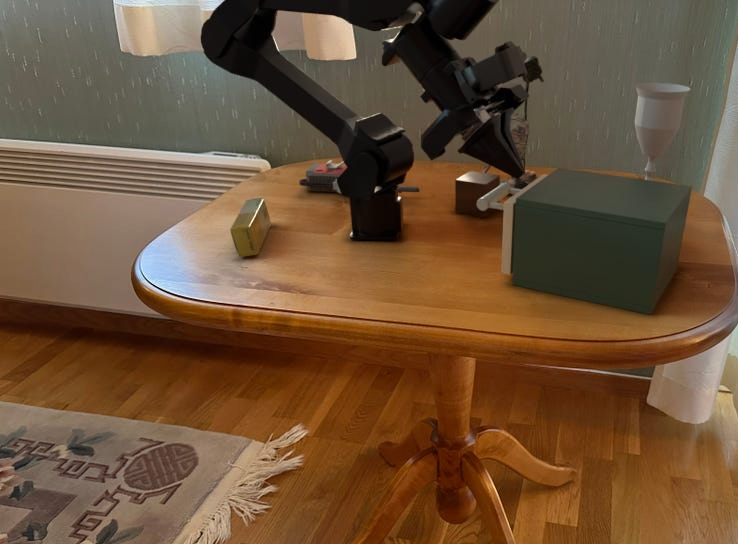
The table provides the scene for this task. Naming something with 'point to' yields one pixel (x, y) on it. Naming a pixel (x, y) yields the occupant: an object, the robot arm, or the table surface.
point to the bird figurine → (523, 127)
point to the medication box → (250, 227)
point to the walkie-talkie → (332, 178)
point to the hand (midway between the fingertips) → (521, 175)
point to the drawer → (506, 217)
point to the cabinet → (599, 237)
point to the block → (474, 192)
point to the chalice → (658, 118)
